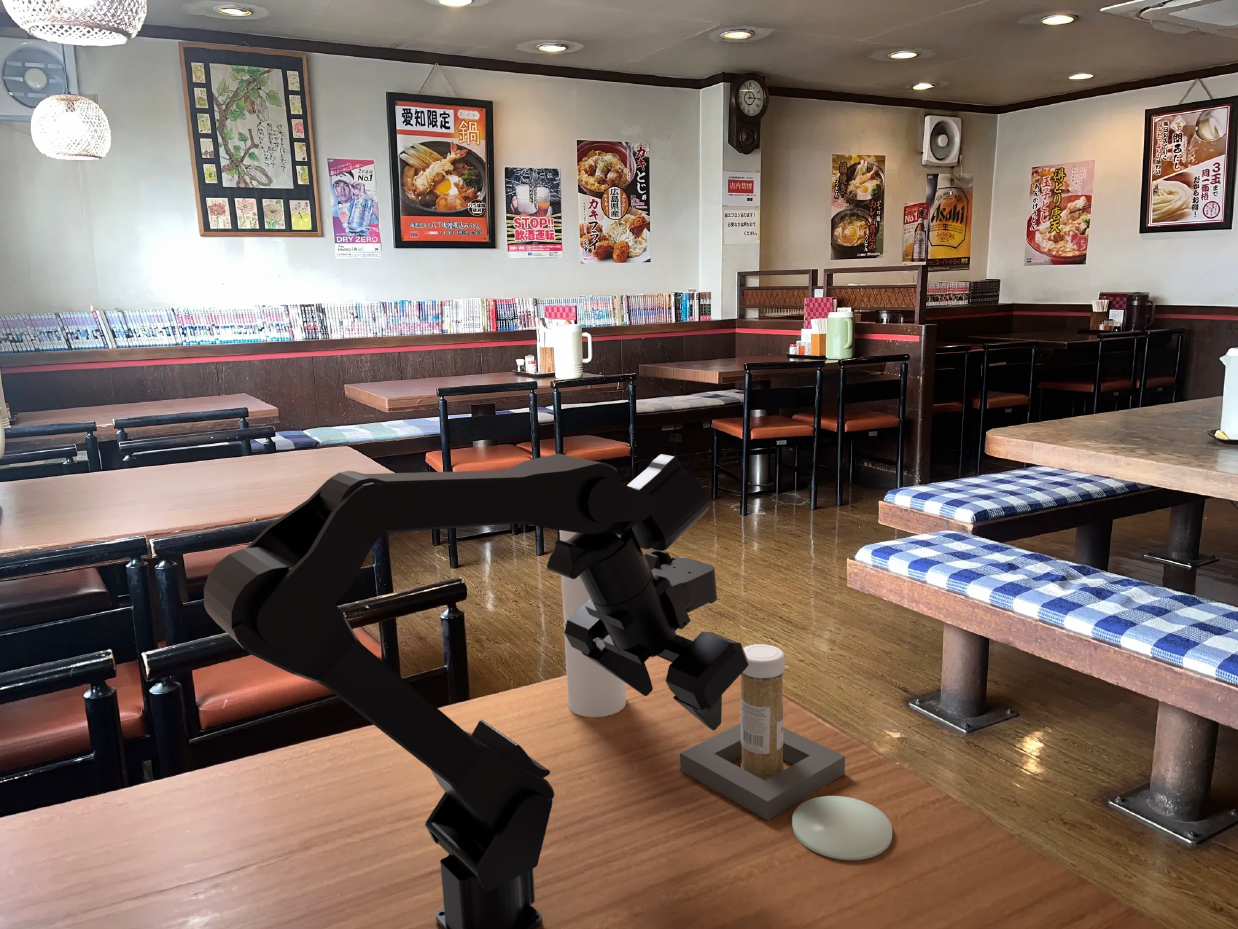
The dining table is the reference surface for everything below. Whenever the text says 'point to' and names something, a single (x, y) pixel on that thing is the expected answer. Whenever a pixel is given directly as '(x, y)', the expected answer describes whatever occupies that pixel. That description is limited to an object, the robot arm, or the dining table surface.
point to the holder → (750, 791)
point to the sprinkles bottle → (762, 711)
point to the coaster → (842, 828)
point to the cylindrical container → (587, 663)
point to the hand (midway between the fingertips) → (681, 708)
